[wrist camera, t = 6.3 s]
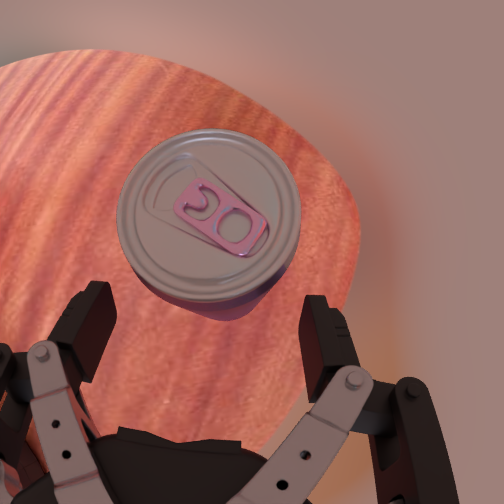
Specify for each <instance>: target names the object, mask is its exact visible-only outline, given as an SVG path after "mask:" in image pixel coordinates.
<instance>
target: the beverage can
mask: <svg viewBox="0 0 504 504" xmlns="http://www.w3.org/2000/svg"><path fill="white" fill-rule="evenodd" d="M116 224H117V233H118V237H119V241H120V244H121V247H122V250H123V252H124V254H125V256H126V258H127V260H128V262H129V263H130V265H131V267H132V269H133V270H134V272H135V274H136V275H137V277H138V278H139V279H140V280H141V282H142V283H143V284H144V285H145V286H146V287H147V288H148V289H149V290H150V291H152V292H153V293H154V294H156V295H157V296H158V297H160V298H161V299H163V300H165V301H167V302H169V303H171V304H173V305H176V306H178V307H181V308H184V309H186V310H189V311H191V312H194V313H197V314H200V315H202V316H205V317H208V318H210V319H214V320H218V321H230V320H235V319H238V318H241V317H243V316H245V315H246V314H248V313H249V312H250V311H252V310H253V309H254V308H255V306H256V305H257V304H258V303H259V302H260V301H261V300H262V298H263V297H264V296H265V295H266V294H267V293H268V292H269V291H270V289H271V288H272V287H273V286H274V285H275V284H276V283H277V281H278V280H279V279H280V278H281V277H282V275H283V274H284V273H285V271H286V270H287V268H288V267H289V265H290V263H291V261H292V259H293V257H294V255H295V252H296V249H297V246H298V242H299V237H300V226H301V202H300V196H299V191H298V188H297V185H296V182H295V180H294V178H293V176H292V174H291V172H290V170H289V169H288V167H287V166H286V164H285V163H284V162H283V160H282V159H281V158H280V157H279V156H278V155H277V154H276V153H275V152H274V151H273V150H272V149H270V148H269V147H268V146H266V145H265V144H264V143H262V142H260V141H259V140H257V139H255V138H253V137H251V136H248V135H246V134H243V133H240V132H236V131H232V130H227V129H217V128H208V129H197V130H192V131H188V132H184V133H181V134H178V135H175V136H173V137H171V138H169V139H167V140H165V141H163V142H161V143H160V144H158V145H157V146H155V147H154V148H152V149H151V150H150V151H149V152H147V153H146V154H145V155H144V156H143V157H142V158H141V159H140V160H139V161H138V163H137V164H136V165H135V166H134V168H133V169H132V170H131V172H130V174H129V175H128V177H127V179H126V181H125V183H124V185H123V187H122V190H121V193H120V196H119V200H118V205H117V214H116Z"/></svg>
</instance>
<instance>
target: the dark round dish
mask: <svg viewBox="0 0 504 504" xmlns="http://www.w3.org/2000/svg"><path fill="white" fill-rule="evenodd" d="M17 473H18V475H19V479H20V483H21V484H22V490H23V489H24V488H26V487H27V486H29V485H30V484H32V483H33V482H35V481H36V480H38V479H39V478H40V477H42V476H43V475H44V473H43V471H42V469H41V466H40V464H39V462H38V460H37V459H36V457H35V456H34V454H33V453H32V451H31V450H30V448H29V447H28V445H27V443H26V442H25V441H24V445H23V448H22V452H21V455H20V459H19V463H18V467H17Z"/></svg>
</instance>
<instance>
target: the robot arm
mask: <svg viewBox="0 0 504 504" xmlns="http://www.w3.org/2000/svg"><path fill="white" fill-rule="evenodd" d="M116 319H117V310H116V306H115V303H114V299H113V295H112V291H111V287H110V284H109V283H108V282H103V281H90V283H89V284H88V286H87V287H86V289H85V291H84V292H83V291H80V292H79V293H78V294H76V295H75V296H74V297H73V298H72V299H71V300H70V302H69V303H68V305H67V307H66V309H65V310H64V311H63V313H62V316H60V318H59V320H58V321H57V323H56V325H55V327H54V328H53V330H52V332H51V333H50V335H49V337H48V339H47V340H44V341H39V342H37V343H35V344H34V345H33V346H32V347H31V348H30V349H29V351H28V352H18V353H13V352H12V350H11V349H10V347H9V346H8V345H7V344H4V343H0V401H1V399H2V396H3V394H4V392H5V391H6V392H7V393H8V394H7V396H6V399H5V401H4V404H3V406H2V409H1V411H0V504H312V503H311V502H310V501H309V500H308V499H307V497H308V496H309V494H310V493H311V491H312V490H313V489H314V487H315V486H316V485H317V483H318V482H319V480H320V479H321V478H322V476H323V475H324V473H325V472H326V470H327V469H328V467H329V466H330V464H331V463H332V461H333V459H334V458H335V456H336V455H337V453H338V451H339V450H340V448H341V447H342V445H343V443H344V442H345V440H346V438H347V437H348V435H349V431H354V432H359V433H364V434H368V437H369V443H370V449H371V456H372V462H373V469H374V476H375V484H376V492H377V500H378V504H459V499H458V494H457V490H456V485H455V481H454V476H453V472H452V468H451V464H450V460H449V456H448V452H447V449H446V445H445V441H444V438H443V434H442V431H441V428H440V424H439V421H438V418H437V415H436V411H435V408H434V405H433V402H432V399H431V396H430V393H429V391H428V388H427V387H426V385H425V384H424V383H423V382H422V381H420V380H419V379H417V378H414V377H404V378H402V379H400V380H399V381H398V383H397V384H396V385H395V384H390V383H385V382H380V381H376V380H373V379H372V377H371V375H370V374H369V373H368V372H367V371H366V370H365V369H363V368H361V366H360V363H359V360H358V357H357V354H356V351H355V347H354V344H353V341H352V338H351V337H350V332H349V329H348V326H347V323H346V320H345V317H344V316H343V315H342V314H341V312H340V311H339V310H338V309H337V308H329V306H328V303H327V300H326V297H325V295H306V296H305V299H304V304H303V308H302V313H301V317H300V321H299V330H298V333H299V342H300V348H301V354H302V361H303V367H304V374H305V380H306V387H307V393H308V400H309V403H315V404H314V406H313V407H312V409H311V410H310V411H309V412H306V413H305V415H304V416H303V417H302V418H301V420H300V421H299V422H298V424H297V425H296V426H295V427H294V429H293V430H292V431H291V433H290V434H289V435H288V436H287V438H286V439H285V440H284V441H283V443H282V444H281V445H280V446H279V448H278V449H277V450H276V451H275V452H274V454H273V455H272V456H271V457H270V458H269V459H268V460H267V459H266V458H264V457H263V456H261V455H259V454H257V453H255V452H252V451H250V450H247V449H243V448H241V441H232V440H214V439H208V440H200V441H192V442H184V443H175V442H172V441H169V440H167V439H164V438H161V437H159V436H156V435H154V434H151V433H149V432H146V431H140V430H135V429H130V428H125V427H120V426H119V428H118V432H117V434H110V435H106V436H102V437H101V435H100V433H99V432H98V430H97V428H96V426H95V424H94V422H93V420H92V417H91V415H90V412H89V410H88V407H87V405H86V402H85V400H84V397H83V394H82V392H81V389H80V388H79V387H80V385H81V382H82V381H83V382H87V383H92V380H93V378H94V375H95V372H96V370H97V367H98V365H99V362H100V360H101V357H102V355H103V352H104V350H105V347H106V345H107V343H108V340H109V338H110V335H111V333H112V331H113V328H114V326H115V324H116ZM32 416H33V419H34V423H35V427H36V430H37V434H38V437H39V441H40V444H41V447H42V451H43V454H44V457H45V460H46V463H47V466H48V469H49V472H48V473H46V474H45V475H43V476H42V477H40V478H39V479H38V480H36V481H35V482H33V483H32V484H30V485H29V486H27V487H26V488H24V489H23V490H22V484H21V483H20V479H19V475H18V473H17V467H18V463H19V459H20V455H21V452H22V448H23V445H24V441H25V438H26V435H27V432H28V428H29V425H30V422H31V419H32Z"/></svg>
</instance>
